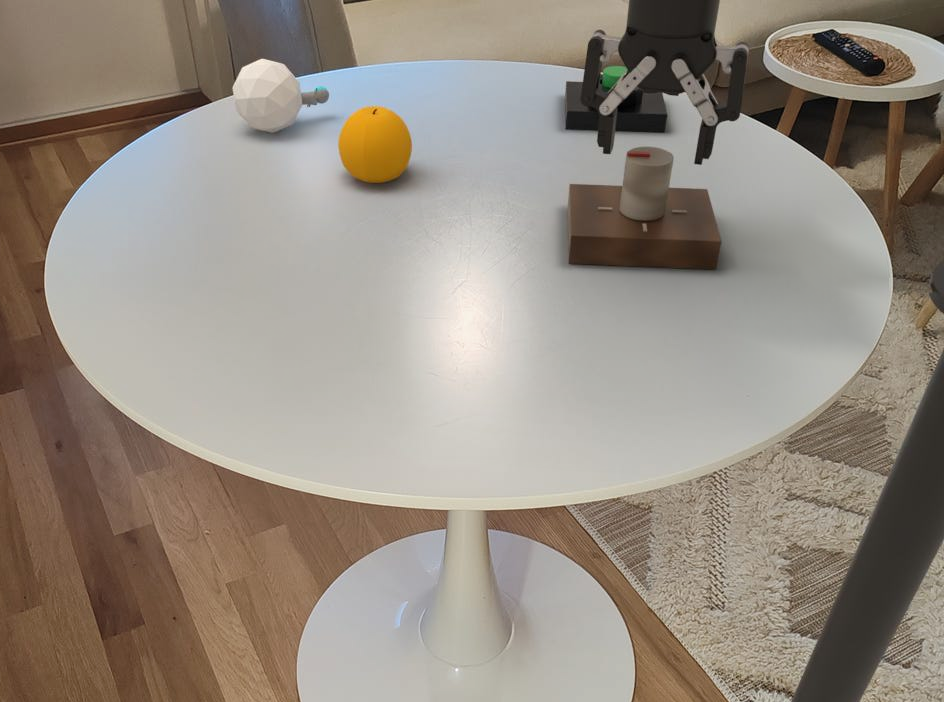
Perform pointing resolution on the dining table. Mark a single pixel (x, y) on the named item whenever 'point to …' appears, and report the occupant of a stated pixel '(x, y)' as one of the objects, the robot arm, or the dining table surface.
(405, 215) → the dining table surface
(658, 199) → the dimmer knob
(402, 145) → the orange fruit
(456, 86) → the dining table surface
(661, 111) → the block
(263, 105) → the perfume bottle
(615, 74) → the green push button
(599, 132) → the robot arm
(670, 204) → the dimmer panel
